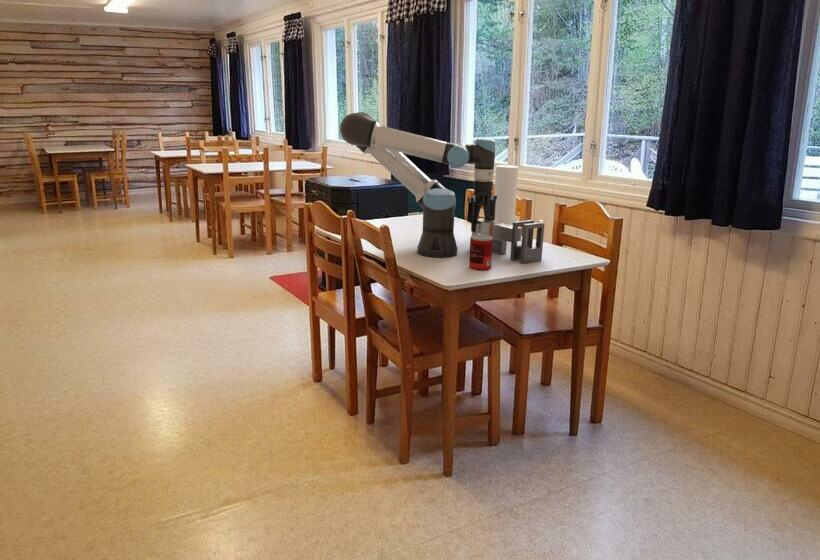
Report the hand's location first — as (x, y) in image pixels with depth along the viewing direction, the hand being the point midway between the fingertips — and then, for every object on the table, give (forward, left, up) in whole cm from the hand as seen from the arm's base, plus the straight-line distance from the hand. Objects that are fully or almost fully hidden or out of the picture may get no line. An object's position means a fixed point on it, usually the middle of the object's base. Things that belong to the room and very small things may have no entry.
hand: (480, 239), depth 244 cm
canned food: (-22, -25, -3) cm, 33 cm away
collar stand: (+1, -25, -3) cm, 25 cm away
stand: (0, -8, -3) cm, 9 cm away
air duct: (0, -9, +3) cm, 9 cm away
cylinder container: (+26, +14, -3) cm, 30 cm away
